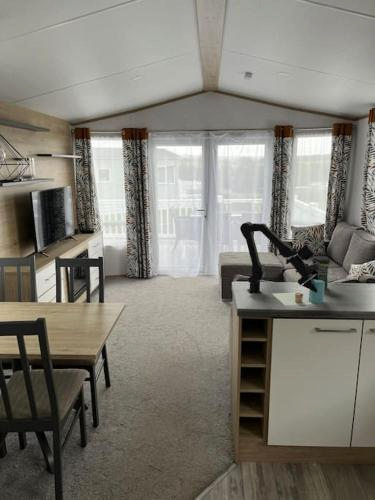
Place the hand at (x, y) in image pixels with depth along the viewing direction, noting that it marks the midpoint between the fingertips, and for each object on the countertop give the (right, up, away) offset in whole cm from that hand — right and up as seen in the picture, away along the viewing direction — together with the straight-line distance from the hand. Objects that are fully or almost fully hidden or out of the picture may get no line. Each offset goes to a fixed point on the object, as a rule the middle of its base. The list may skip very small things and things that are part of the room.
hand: (319, 289), depth 194 cm
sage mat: (-13, -6, +5) cm, 15 cm away
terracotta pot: (-11, -6, +1) cm, 12 cm away
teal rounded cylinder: (-1, -6, +2) cm, 7 cm away
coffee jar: (+9, -2, +27) cm, 29 cm away
